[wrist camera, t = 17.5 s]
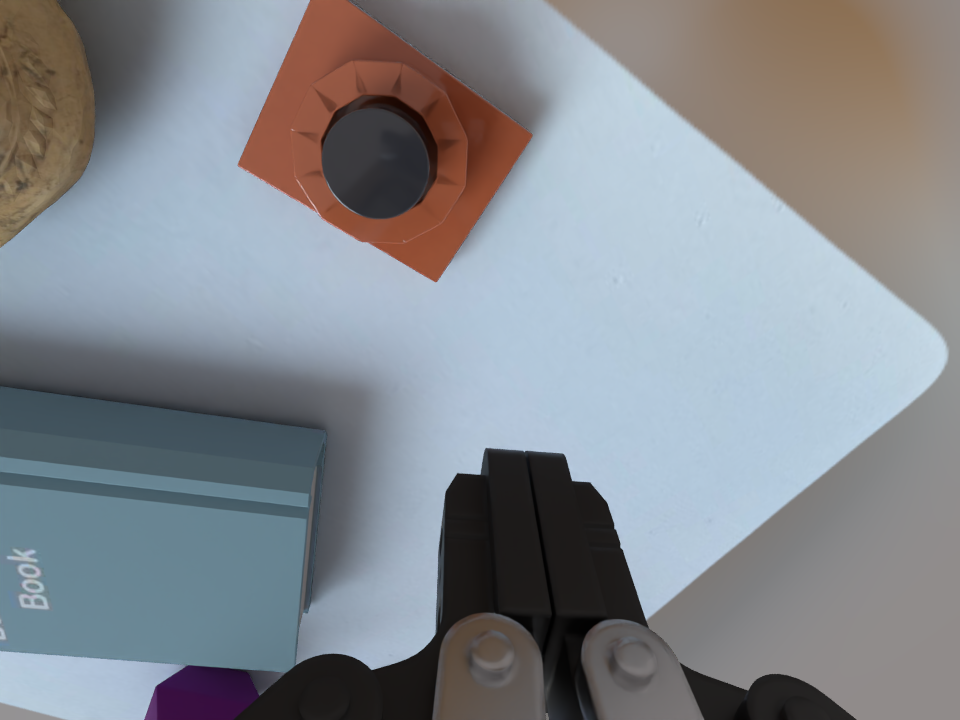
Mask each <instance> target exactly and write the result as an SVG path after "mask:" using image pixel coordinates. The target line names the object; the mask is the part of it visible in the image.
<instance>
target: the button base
mask: <svg viewBox="0 0 960 720" xmlns="http://www.w3.org/2000/svg"><path fill="white" fill-rule="evenodd" d="M371 103H382V104H388V105H392V106H395V107H397V108H399V109H401V110H403V111H405V112H406V113H408V114H409V115H410V116H411V117H412V118H413V119H414V120H415V121H416V122H417V123H418V124H419V125H420V127H421V128H422V130H423V131H424V133H425V135H426V138H427V140H428V143H429V146H430V152H431V167H430V174H429V179H428V184H427V187H426V189H425V191H424V193H423V195H422V197H421V198H420V200H419V201H418V202H417V203H416V204H415V206H414V207H412V208H411V209H410V210H409V211H407V212H405V213H404V214H402V215H399V216H397V217H394V218H390V219H370V218H366V217H362V216H360V215H357V214H355V213H353V212H351V211H350V210H348V209H347V208H346V207H344V206H343V205H342V204H341V203H340V202H339V201H338V200H337V199H336V198H335V197H334V195H333V194H332V192H331V191H330V189H329V187H328V185H327V183H326V181H325V178H324V174H323V171H322V159H321V156H322V148H323V144H324V141H325V139H326V136H327V134H328V132H329V131H330V129H331V128H332V127H333V125H334V124H335V123H336V122H337V121H338V120H339V119H340V118H342V117H343V116H345V115H346V114H348V113H349V112H350V111H352V110H353V109H355V108H357V107H359V106H362V105H366V104H371ZM532 137H533V134H532V133H531V132H530V131H529V130H528V129H527V128H525V127H524V126H522V125H521V124H520V123H518V122H517V121H516V120H514V119H513V118H511V117H510V116H509V115H507V114H506V113H505V112H503V111H502V110H500V109H499V108H498V107H496V106H495V105H494V104H492V103H491V102H489V101H488V100H487V99H485V98H484V97H482V96H481V95H480V94H478V93H477V92H476V91H474V90H473V89H471V88H470V87H469V86H467V85H466V84H465V83H463V82H462V81H460V80H459V79H458V78H456V77H455V76H454V75H452V74H451V73H449V72H448V71H447V70H445V69H444V68H443V67H441V66H440V65H438V64H437V63H436V62H434V61H433V60H432V59H430V58H429V57H427V56H426V55H425V54H423V53H422V52H421V51H419V50H418V49H416V48H415V47H414V46H412V45H411V44H409V43H408V42H407V41H405V40H404V39H403V38H401V37H400V36H398V35H397V34H396V33H394V32H393V31H392V30H390V29H389V28H387V27H386V26H385V25H383V24H382V23H381V22H379V21H378V20H376V19H375V18H374V17H372V16H371V15H370V14H368V13H367V12H365V11H364V10H363V9H361V8H360V7H359V6H357V5H356V4H354V3H353V2H352V1H350V0H310V2H309V4H308V7H307V9H306V11H305V13H304V16H303V18H302V20H301V22H300V25H299V27H298V29H297V32H296V34H295V36H294V38H293V41H292V43H291V45H290V47H289V50H288V52H287V54H286V56H285V59H284V61H283V63H282V65H281V68H280V70H279V72H278V74H277V77H276V79H275V81H274V83H273V86H272V88H271V90H270V92H269V95H268V97H267V99H266V101H265V104H264V106H263V108H262V110H261V113H260V115H259V117H258V120H257V122H256V124H255V126H254V129H253V131H252V133H251V135H250V138H249V140H248V142H247V144H246V147H245V149H244V151H243V153H242V156H241V158H240V160H239V162H238V167H240V168H242V169H243V170H245V171H247V172H249V173H250V174H252V175H254V176H255V177H257V178H259V179H260V180H262V181H264V182H266V183H267V184H269V185H271V186H272V187H274V188H276V189H278V190H279V191H281V192H283V193H284V194H286V195H288V196H289V197H291V198H293V199H295V200H296V201H298V202H300V203H301V204H303V205H305V206H306V207H308V208H310V209H312V210H313V211H315V212H317V213H318V215H319V216H320V217H322V220H324V221H326V222H328V223H329V224H331V225H333V226H334V227H336V228H338V229H340V230H341V231H343V232H345V233H346V234H348V235H350V236H352V237H353V238H355V239H357V240H358V241H361V242H368V243H369V244H371V245H373V246H375V247H376V248H378V249H380V250H381V251H383V252H385V253H386V254H388V255H390V256H392V257H393V258H395V259H397V260H398V261H400V262H402V263H403V264H405V265H407V266H409V267H410V268H412V269H414V270H415V271H417V272H419V273H421V274H422V275H424V276H426V277H427V278H429V279H431V280H432V281H434V282H437V281H438V280H439V278H440V277H441V275H442V274H443V272H444V271H445V269H446V268H447V266H448V265H449V263H450V262H451V260H452V258H453V257H454V255H455V254H456V252H457V251H458V249H459V248H460V246H461V245H462V243H463V242H464V240H465V239H466V237H467V236H468V234H469V233H470V231H471V230H472V228H473V227H474V225H475V223H476V222H477V220H478V219H479V217H480V216H481V214H482V213H483V211H484V210H485V208H486V207H487V205H488V204H489V202H490V201H491V199H492V198H493V196H494V195H495V193H496V192H497V190H498V188H499V187H500V185H501V184H502V182H503V181H504V179H505V178H506V176H507V175H508V173H509V172H510V170H511V169H512V167H513V166H514V164H515V163H516V161H517V160H518V158H519V157H520V155H521V153H522V152H523V150H524V149H525V147H526V146H527V144H528V143H529V141H530V140H531V138H532Z"/></svg>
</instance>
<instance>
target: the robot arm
mask: <svg viewBox="0 0 960 720" xmlns="http://www.w3.org/2000/svg"><path fill="white" fill-rule="evenodd" d="M546 713H548V716H549V720H856V719H855V718H854V717H853V716H851V715H850V714H849V713H847V712H846V711H845V710H844V709H842V708H841V707H840V706H839V705H837V704H836V703H835V702H833V701H832V700H831V699H830V698H828V697H827V696H825V694H823V693H822V692H820V691H819V690H818V689H816V688H815V687H813V686H811V685H809V684H808V683H806V682H804V681H801V680H799V679H797V678H794V677H791V676H787V675H781V674H769V675H765V676H762V677H760V678H758V679H757V680H756V681H755V682H754V683H753V684H752V685H751V687H750V689H749V691H747V690H744V689H742V688H739V687H736V686H733V685H731V684H728V683H725V682H722V681H719V680H717V679H714V678H711V677H708V676H706V675H703V674H700V673H698V672H696V671H693V670H691V669H690V668H688V667H686V666H684V665H683V664H681V663H680V662H679V661H678V659H677V657H676V655H675V654H674V652H673V651H672V649H671V648H670V647H669V645H668V644H667V643H666V642H665V641H664V640H663V639H662V638H661V637H659V636H658V635H657V634H656V633H655V632H653V631H652V630H650V629H649V627H648V625H647V622H646V620H645V617H644V613H643V610H642V607H641V604H640V601H639V598H638V595H637V592H636V589H635V586H634V583H633V580H632V577H631V574H630V571H629V568H628V565H627V562H626V559H625V556H624V553H623V550H622V549H621V548H620V541H619V538H618V535H617V532H616V530H614V522H613V519H612V516H611V513H610V510H609V507H608V504H607V502H606V501H605V500H604V499H603V497H602V496H601V495H600V494H599V493H598V491H597V490H596V489H595V488H594V487H593V486H592V484H591V483H589V482H575V481H572V479H571V475H570V472H569V468H568V464H567V460H566V457H565V455H564V454H560V453H547V452H534V451H525V453H524V451H518V450H505V449H492V448H486V449H485V452H484V456H483V462H482V469H481V475H474V474H460V473H457V475H456V476H455V478H454V479H453V481H452V483H451V484H450V486H449V487H448V489H447V491H446V493H445V501H444V510H443V518H442V526H441V535H440V543H439V553H438V580H437V608H436V635H435V636H434V637H433V639H432V640H431V642H430V643H429V644H428V645H427V646H426V647H425V648H424V649H423V650H421V651H420V652H419V653H417V654H416V655H414V656H412V657H410V658H409V659H406V660H404V661H401V662H398V663H395V664H391V665H388V666H385V667H381V668H378V669H374V670H371V669H370V668H369V667H368V666H367V665H365V664H364V663H363V662H361V661H360V660H357V659H355V658H353V657H350V656H347V655H343V654H324V655H319V656H315V657H312V658H309V659H307V660H304V661H303V662H301V663H299V664H297V665H296V666H294V667H293V668H292V669H290V670H289V671H288V672H287V673H285V674H284V675H283V676H282V677H281V678H280V679H279V680H277V681H276V682H275V683H274V684H273V685H272V686H271V687H270V688H268V689H267V690H266V691H265V692H264V693H263V694H262V695H260V696H259V697H258V698H257V699H256V700H255V701H254V702H252V703H251V704H250V705H249V706H248V707H247V708H246V709H245V710H243V711H242V712H241V713H240V714H239V715H238V716H237V717H235V718H234V719H233V720H546V715H545V714H546Z"/></svg>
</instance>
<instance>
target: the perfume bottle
mask: <svg viewBox="0 0 960 720" xmlns="http://www.w3.org/2000/svg"><path fill="white" fill-rule="evenodd" d="M258 697H259V694H258V692H257V690H256V688H255V686H254V683H253V681H252V679H251V677H250V675H249V673H247V672H244V671H239V670H235V669H230V668H220V667H207V666H194V665H188V666H186V667H185V668H183V669H182V670H180V671H179V672H177V673H176V674H174V675H172V676H171V677H169V678H168V679H166V680H165V681H163V682H162V683H160V684H159V685H157V686H156V688H155V690H154V693H153V696H152V699H151V702H150V705H149V708H148V711H147V714H146V717H145V719H144V720H233V719H234V718H235V717H237V716H238V715H239V714H240V713H241V712H242V711H243V710H245V709H246V708H247V707H248V706H249V705H250V704H251V703H252V702H254V701H255V700H256V699H257V698H258Z"/></svg>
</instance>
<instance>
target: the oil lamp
mask: <svg viewBox="0 0 960 720" xmlns="http://www.w3.org/2000/svg"><path fill="white" fill-rule="evenodd" d="M94 135H95V98H94V89H93V84H92V77H91V73H90V70H89V66H88V62H87V56H86V52H85V48H84V45H83V42H82V40H81V38H80V35H79V34H78V32H77V30H76V28H75V26H74V24H73V23H72V21H71V20H70V18H69V17H68V16H67V15H66V14H65V12H64V11H63V10H62V8H61V7H60V5H59V3H58V2H57V0H0V248H1V247H2V246H3V245H4V244H6V243H7V242H8V241H10V240H11V239H12V238H13V237H15V236H16V235H17V234H18V233H19V232H20V231H21V230H22V229H24V228H25V227H26V226H27V225H28V224H29V223H30V222H32V221H33V220H34V219H35V218H36V217H37V216H38V215H39V214H41V213H42V212H43V211H44V210H45V209H47V208H48V207H49V206H51V205H52V204H54V203H55V202H56V201H57V200H58V199H59V198H60V197H61V196H62V195H63V194H64V193H66V192H67V191H68V190H69V189H70V188H71V187H72V186H73V185H74V184H75V183H76V182H77V181H78V180H79V179H80V177H81V176H82V174H83V172H84V171H85V169H86V167H87V165H88V162H89V160H90V156H91V152H92V148H93V143H94Z"/></svg>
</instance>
